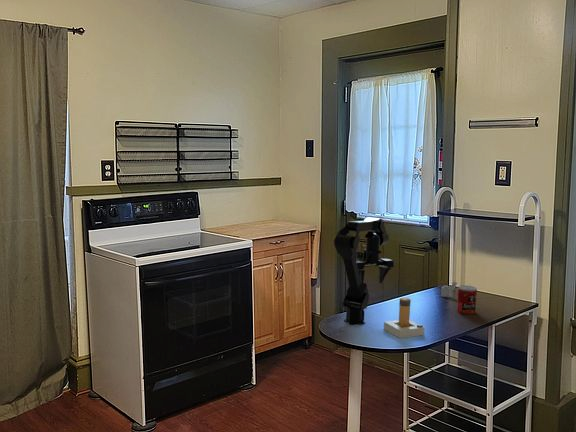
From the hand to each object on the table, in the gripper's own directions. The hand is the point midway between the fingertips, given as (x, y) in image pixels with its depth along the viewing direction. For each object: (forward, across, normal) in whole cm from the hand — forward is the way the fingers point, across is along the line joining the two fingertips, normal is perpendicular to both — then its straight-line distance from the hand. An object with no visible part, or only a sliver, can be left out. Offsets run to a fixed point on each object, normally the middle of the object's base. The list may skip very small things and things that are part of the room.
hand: (371, 284), depth 242 cm
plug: (+13, 0, +25) cm, 28 cm away
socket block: (+13, 0, +25) cm, 28 cm away
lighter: (+13, -51, -12) cm, 54 cm away
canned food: (+13, -42, +11) cm, 45 cm away
